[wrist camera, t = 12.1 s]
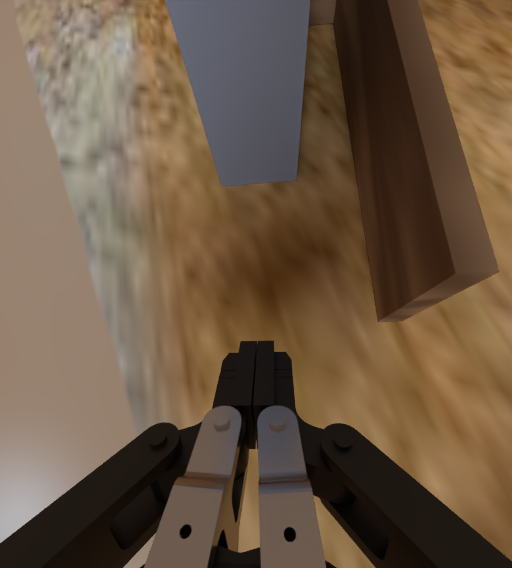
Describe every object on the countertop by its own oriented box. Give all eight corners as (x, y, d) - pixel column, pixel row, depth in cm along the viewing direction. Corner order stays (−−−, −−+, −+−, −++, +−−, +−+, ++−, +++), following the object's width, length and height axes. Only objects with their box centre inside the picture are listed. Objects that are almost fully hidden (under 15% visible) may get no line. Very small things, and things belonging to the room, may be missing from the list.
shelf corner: (345, 4, 29) (386, -235, 18) (401, 321, 19) (580, 230, 8) (227, 18, 30) (194, -203, 19) (219, 326, 20) (137, 253, 9)
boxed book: (286, 57, 28) (293, -341, 12) (297, 180, 23) (327, -205, 8) (222, 64, 28) (153, -313, 13) (221, 186, 24) (111, -169, 8)
